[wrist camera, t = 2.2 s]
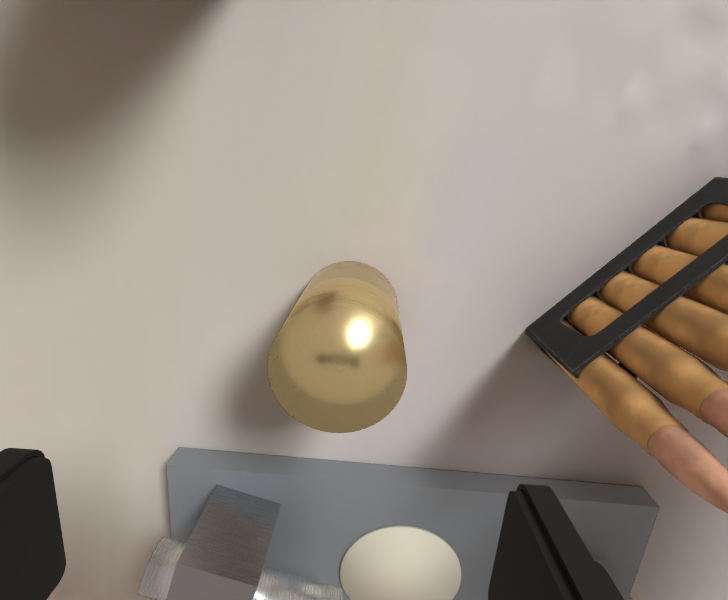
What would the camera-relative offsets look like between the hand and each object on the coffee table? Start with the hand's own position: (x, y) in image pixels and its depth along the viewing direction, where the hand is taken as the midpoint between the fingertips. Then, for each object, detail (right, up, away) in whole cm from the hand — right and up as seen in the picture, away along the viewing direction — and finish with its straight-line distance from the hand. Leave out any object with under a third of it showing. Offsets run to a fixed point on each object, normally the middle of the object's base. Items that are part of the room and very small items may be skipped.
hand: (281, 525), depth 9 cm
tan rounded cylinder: (+1, +4, +13) cm, 13 cm away
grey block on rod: (-4, -8, +15) cm, 18 cm away
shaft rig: (+4, -10, +17) cm, 20 cm away
